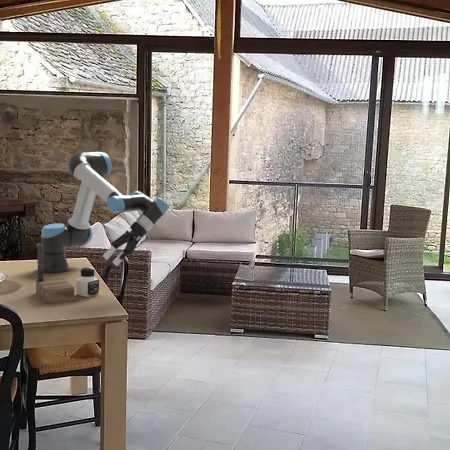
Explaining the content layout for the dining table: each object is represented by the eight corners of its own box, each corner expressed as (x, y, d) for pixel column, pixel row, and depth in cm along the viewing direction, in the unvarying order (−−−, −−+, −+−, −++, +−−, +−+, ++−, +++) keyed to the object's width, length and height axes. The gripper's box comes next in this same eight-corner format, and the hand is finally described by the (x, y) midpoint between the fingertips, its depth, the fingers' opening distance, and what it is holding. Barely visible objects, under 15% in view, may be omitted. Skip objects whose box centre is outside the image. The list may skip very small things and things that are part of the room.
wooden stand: (35, 292, 273) (34, 243, 270) (62, 289, 279) (62, 242, 276) (45, 303, 256) (45, 251, 253) (74, 300, 262) (74, 250, 259)
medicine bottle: (87, 297, 268) (87, 270, 266) (76, 294, 272) (76, 268, 270) (99, 294, 274) (99, 267, 272) (87, 291, 278) (87, 265, 276)
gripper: (157, 236, 271) (124, 272, 266) (136, 227, 293) (106, 261, 288) (146, 224, 268) (113, 261, 263) (126, 217, 289) (95, 250, 284)
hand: (109, 261), depth 275 cm, fingers open, 13 cm apart
